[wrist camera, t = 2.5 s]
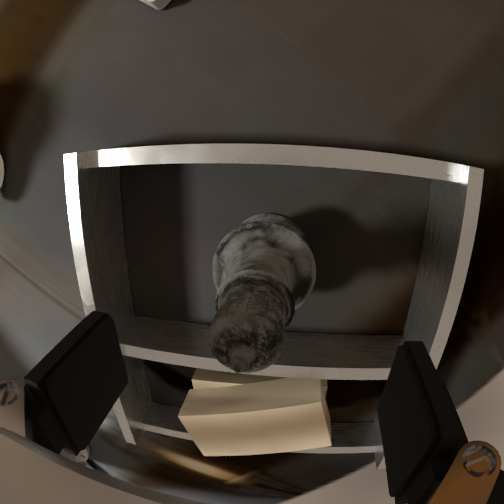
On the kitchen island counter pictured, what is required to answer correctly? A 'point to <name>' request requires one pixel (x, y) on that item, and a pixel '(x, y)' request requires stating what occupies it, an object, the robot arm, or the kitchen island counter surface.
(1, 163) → the spread jar
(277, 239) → the dark grey rounded piece
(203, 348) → the divided tray
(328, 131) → the kitchen island counter surface
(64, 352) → the robot arm
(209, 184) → the kitchen island counter surface
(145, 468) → the kitchen island counter surface
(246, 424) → the offcut upper
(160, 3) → the file sorter
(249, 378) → the offcut lower
